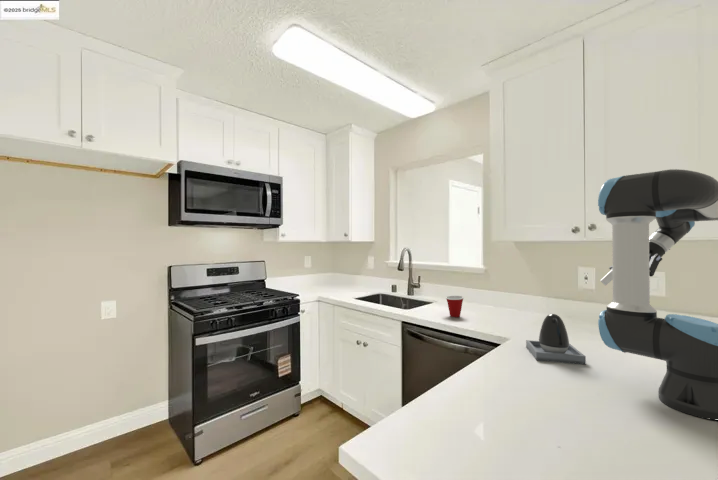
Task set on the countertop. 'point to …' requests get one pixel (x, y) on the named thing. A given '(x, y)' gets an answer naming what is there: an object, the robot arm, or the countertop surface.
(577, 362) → the tray
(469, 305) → the countertop surface
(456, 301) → the plastic cup
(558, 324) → the black egg-shaped dome
